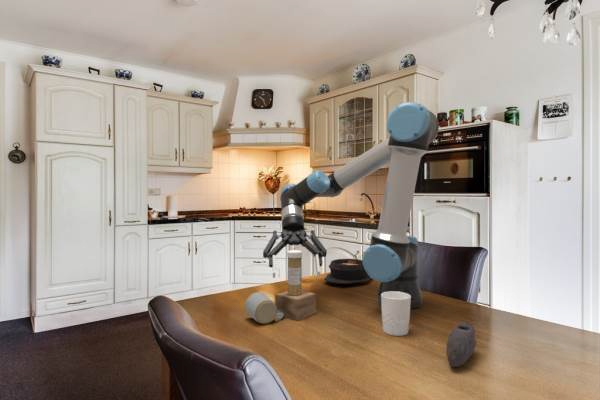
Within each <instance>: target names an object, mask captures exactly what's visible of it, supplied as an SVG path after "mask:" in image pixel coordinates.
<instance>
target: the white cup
mask: <svg viewBox="0 0 600 400" xmlns="http://www.w3.org/2000/svg"><path fill="white" fill-rule="evenodd" d="M410 303H411V296H410V295H409V294H407V293H403V292H396V291H389V292H383V293H382V294H381V304H380V305H381V307H380V308H381V321H382V331H383V333H384V334H386V335H389V336H395V337H397V336H398V337H400V336H402V337H403V336H406V335H408V334H409V328H410V327H409V326H410V317H411V308H410Z"/></svg>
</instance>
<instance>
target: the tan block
mask: <svg viewBox="0 0 600 400" xmlns="http://www.w3.org/2000/svg"><path fill="white" fill-rule="evenodd" d="M301 291H302V294H300V295H289V294H288V293H287V292H288V290H286V291H284V292H280V293H277V294H275V298H274V303H275V305H276V307H277V310H279V311H281V312H282V313H283V314H284V316H283V318H286V319H290V320H294V321H297V322H298V321H301V320H303V319H305V318H308V317H310V316H313V315H315V314H317V294H316V293H314V292H310V291H306V290H301Z"/></svg>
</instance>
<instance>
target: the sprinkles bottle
mask: <svg viewBox="0 0 600 400" xmlns="http://www.w3.org/2000/svg"><path fill="white" fill-rule="evenodd" d="M286 254H287V291H288V292H287V293H288V294H289V295H300V294H302V291H303V290H302V280H303V272H302V271H303V265H302V259H303V258H302V257H303V251H302V250H300V249H299V250H298V249H292V250H288V251H287V253H286Z"/></svg>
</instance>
